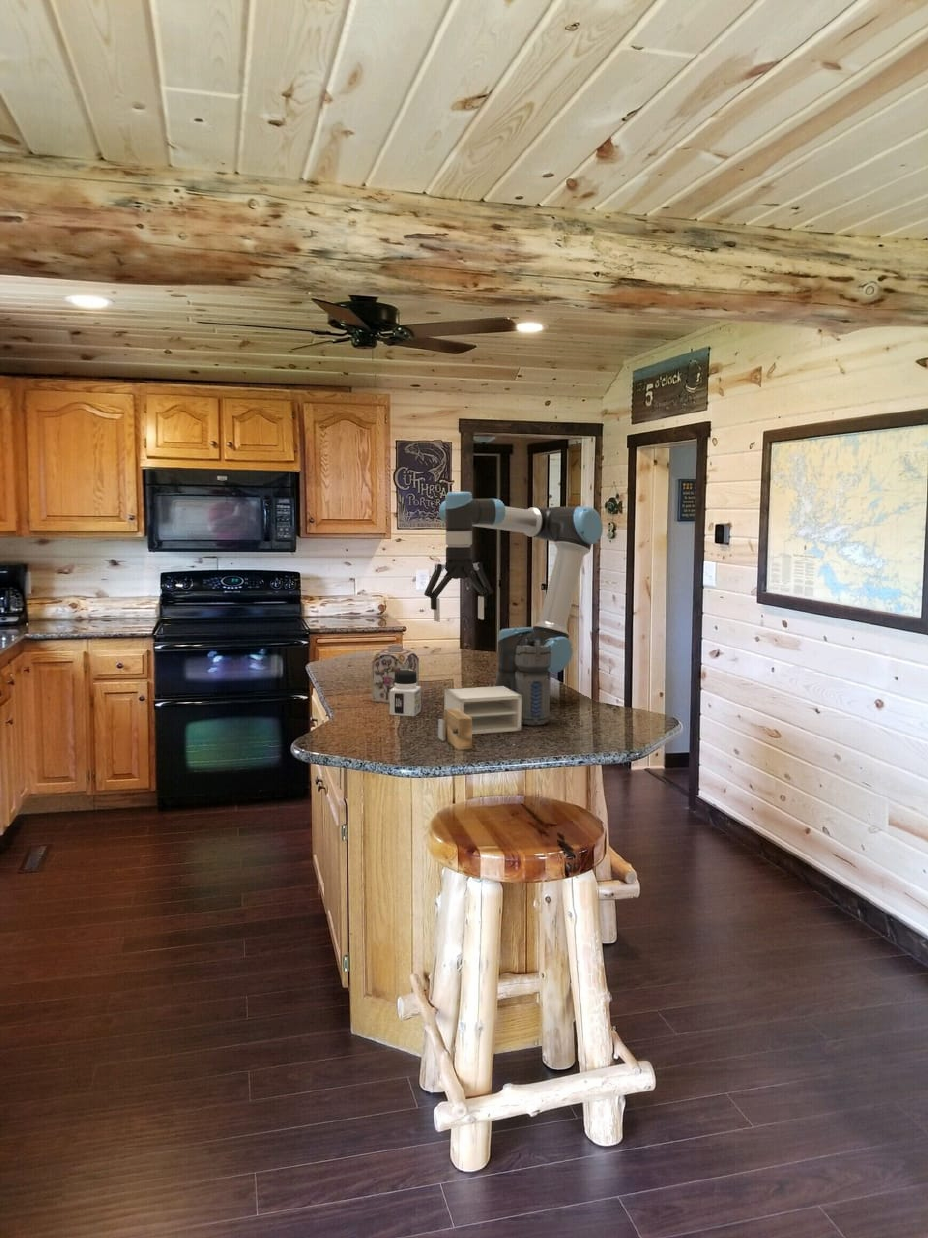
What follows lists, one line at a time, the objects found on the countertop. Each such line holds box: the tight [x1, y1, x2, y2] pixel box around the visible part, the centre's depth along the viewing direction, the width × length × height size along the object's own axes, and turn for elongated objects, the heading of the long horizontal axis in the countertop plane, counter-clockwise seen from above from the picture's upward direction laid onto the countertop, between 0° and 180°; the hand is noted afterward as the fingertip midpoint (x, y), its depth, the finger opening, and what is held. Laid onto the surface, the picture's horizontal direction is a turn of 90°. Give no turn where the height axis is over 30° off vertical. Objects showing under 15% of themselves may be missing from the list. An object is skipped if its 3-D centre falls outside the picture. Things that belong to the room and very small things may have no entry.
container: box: [389, 670, 422, 717], centre depth 258 cm, size 8×8×13 cm
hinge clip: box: [437, 718, 446, 742], centre depth 229 cm, size 6×4×5 cm, turn 109°
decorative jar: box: [371, 643, 420, 704], centre depth 276 cm, size 12×12×18 cm
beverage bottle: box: [515, 636, 552, 727], centre depth 248 cm, size 10×13×25 cm
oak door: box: [443, 708, 473, 751], centre depth 224 cm, size 4×12×8 cm, turn 19°
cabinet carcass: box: [443, 686, 522, 735], centre depth 242 cm, size 18×14×10 cm
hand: (459, 620), depth 248 cm, fingers open, 13 cm apart
